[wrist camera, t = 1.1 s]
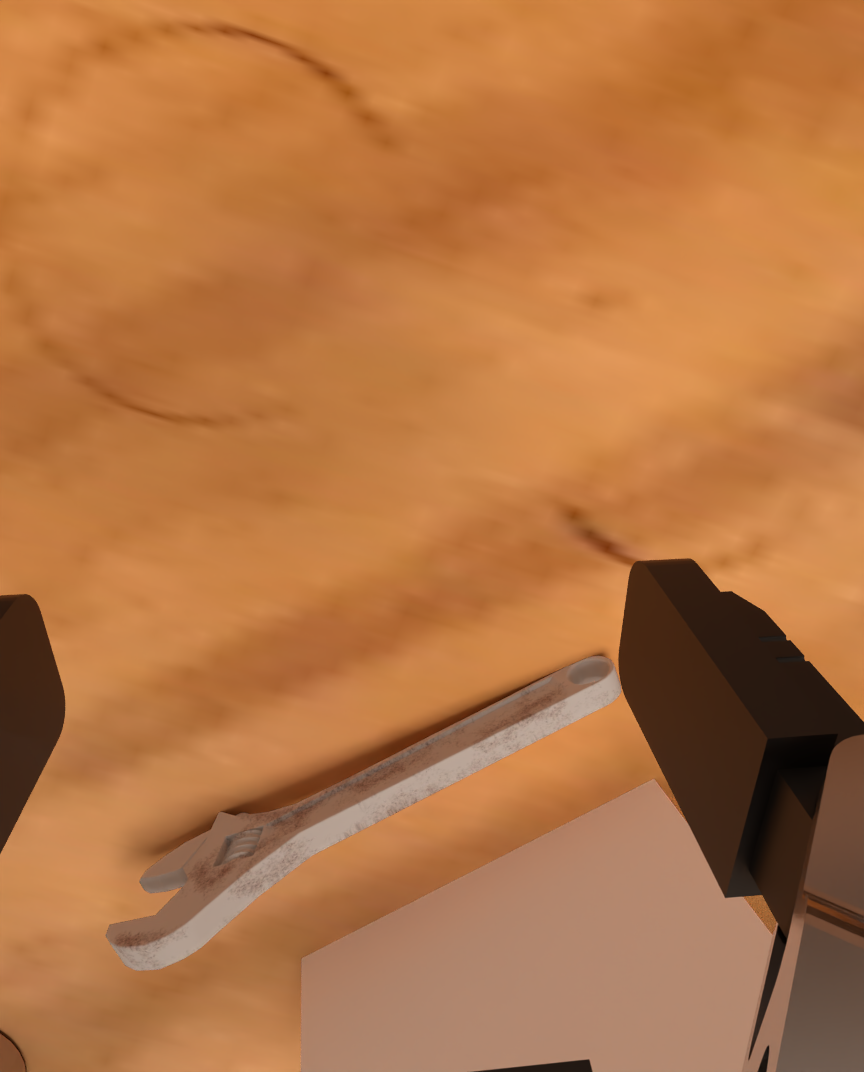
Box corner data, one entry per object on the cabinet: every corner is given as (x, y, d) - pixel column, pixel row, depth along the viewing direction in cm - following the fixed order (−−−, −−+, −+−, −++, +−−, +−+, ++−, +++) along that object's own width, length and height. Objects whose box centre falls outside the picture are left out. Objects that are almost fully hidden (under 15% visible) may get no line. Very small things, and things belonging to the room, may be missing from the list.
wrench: (585, 656, 47) (133, 882, 42) (577, 631, 47) (118, 858, 42) (655, 714, 40) (115, 997, 35) (647, 686, 39) (96, 970, 34)
